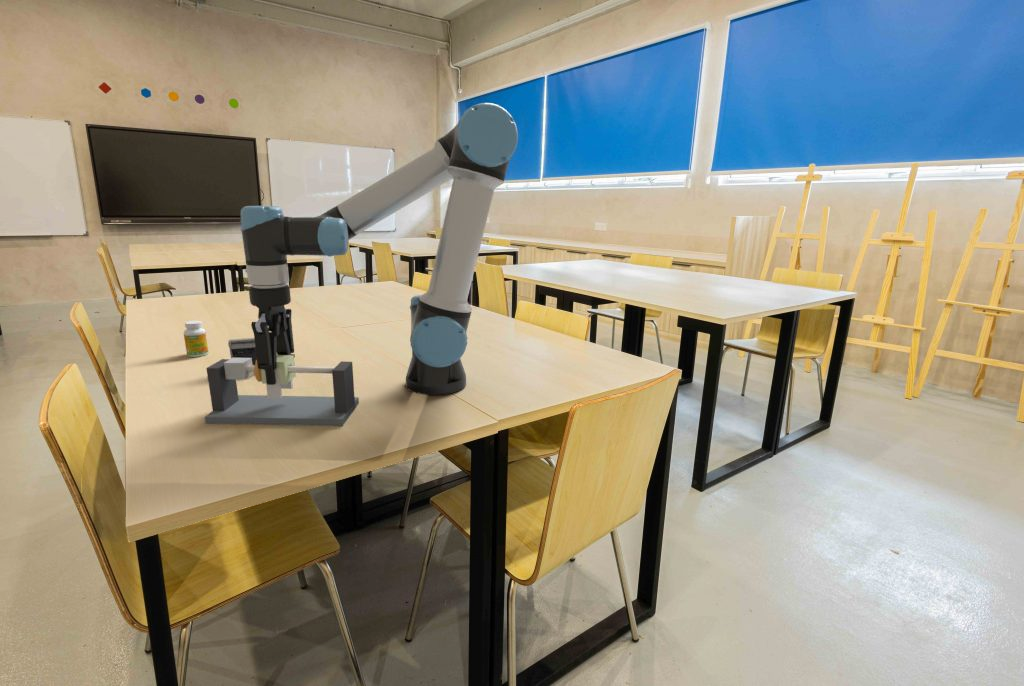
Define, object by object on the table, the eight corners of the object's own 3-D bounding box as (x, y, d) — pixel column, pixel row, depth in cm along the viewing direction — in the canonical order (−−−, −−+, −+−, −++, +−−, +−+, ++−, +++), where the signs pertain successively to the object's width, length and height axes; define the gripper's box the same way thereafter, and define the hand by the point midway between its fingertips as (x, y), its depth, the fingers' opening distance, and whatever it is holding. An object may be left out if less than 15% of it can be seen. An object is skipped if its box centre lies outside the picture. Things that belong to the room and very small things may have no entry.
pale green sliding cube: (295, 376, 111) (293, 355, 109) (286, 384, 106) (284, 362, 105) (272, 375, 111) (270, 354, 109) (262, 383, 106) (259, 361, 105)
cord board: (358, 403, 116) (355, 350, 113) (342, 425, 105) (338, 367, 101) (235, 401, 116) (228, 347, 112) (205, 423, 104) (196, 364, 101)
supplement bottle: (189, 358, 144) (183, 325, 142) (185, 354, 148) (180, 321, 146) (210, 355, 148) (205, 322, 145) (206, 350, 152) (201, 319, 149)
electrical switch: (271, 366, 140) (267, 334, 137) (271, 373, 136) (267, 341, 132) (233, 369, 137) (228, 337, 133) (231, 377, 132) (226, 344, 129)
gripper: (270, 277, 111) (280, 378, 118) (227, 292, 94) (242, 409, 100) (304, 278, 111) (313, 378, 118) (268, 293, 94) (280, 409, 101)
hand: (280, 392), depth 109 cm, fingers closed on pale green sliding cube, 5 cm apart
